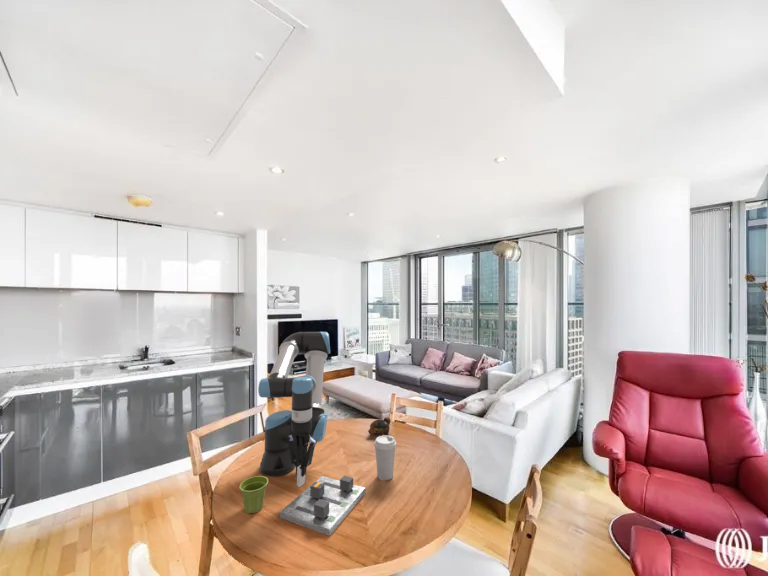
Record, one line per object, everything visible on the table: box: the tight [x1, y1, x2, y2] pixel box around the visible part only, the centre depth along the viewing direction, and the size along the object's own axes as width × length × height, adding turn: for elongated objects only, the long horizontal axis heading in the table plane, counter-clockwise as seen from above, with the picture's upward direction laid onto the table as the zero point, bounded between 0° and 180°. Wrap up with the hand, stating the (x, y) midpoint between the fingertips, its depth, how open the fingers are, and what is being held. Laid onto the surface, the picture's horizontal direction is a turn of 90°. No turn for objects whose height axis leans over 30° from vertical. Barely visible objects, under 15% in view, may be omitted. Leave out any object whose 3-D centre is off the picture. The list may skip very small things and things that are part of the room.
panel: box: [279, 475, 367, 537], centre depth 112 cm, size 20×24×2 cm
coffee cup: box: [373, 435, 397, 481], centre depth 131 cm, size 10×10×15 cm
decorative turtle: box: [367, 416, 391, 436], centre depth 173 cm, size 10×15×8 cm, turn 137°
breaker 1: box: [309, 481, 324, 499], centre depth 114 cm, size 4×3×4 cm
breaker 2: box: [314, 499, 329, 519], centre depth 103 cm, size 4×3×4 cm
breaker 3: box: [339, 475, 354, 492], centre depth 118 cm, size 4×3×4 cm
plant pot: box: [239, 475, 269, 515], centre depth 110 cm, size 9×9×9 cm
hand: (300, 484), depth 116 cm, fingers closed
